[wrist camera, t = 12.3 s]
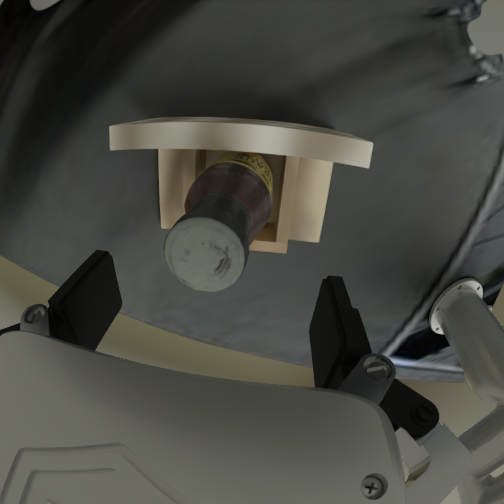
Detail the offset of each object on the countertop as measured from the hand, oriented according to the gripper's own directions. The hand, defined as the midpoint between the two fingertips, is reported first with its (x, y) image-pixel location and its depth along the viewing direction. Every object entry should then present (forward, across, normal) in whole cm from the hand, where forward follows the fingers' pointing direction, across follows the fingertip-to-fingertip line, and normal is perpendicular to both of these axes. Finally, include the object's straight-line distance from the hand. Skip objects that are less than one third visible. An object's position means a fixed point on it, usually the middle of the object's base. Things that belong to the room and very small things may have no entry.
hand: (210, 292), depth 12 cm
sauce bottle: (+22, +1, 0) cm, 22 cm away
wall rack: (+22, +1, +1) cm, 23 cm away
